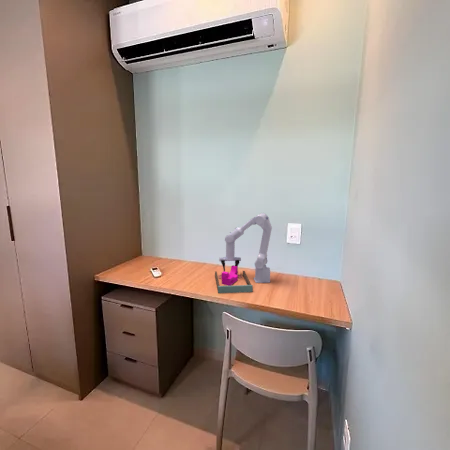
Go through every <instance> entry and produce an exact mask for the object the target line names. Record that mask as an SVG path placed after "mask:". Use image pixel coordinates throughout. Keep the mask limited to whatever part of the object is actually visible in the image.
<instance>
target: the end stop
mask: <svg viewBox="0 0 450 450" xmlns="http://www.w3.org/2000/svg"><path fill="white" fill-rule="evenodd" d="M253 286H254V285H252V284H251V285H247V284H244V285H243V284H237V285H234V284H232V285H231V286H228V285H220V286H218V290H217V293H218V294H233V293H234V294H236V293H253V291H254V290H253V288H254V287H253Z"/></svg>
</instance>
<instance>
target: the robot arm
mask: <svg viewBox="0 0 450 450" xmlns="http://www.w3.org/2000/svg"><path fill="white" fill-rule="evenodd" d="M254 225H255V226H256V225H258V226H259V227H260V228H261V229H262V230H263V231H262V235H261V240H260V244H259V245H260V247H259V252H258V255H257V257H256V260H255V262H254V267H255V268H254V270H255V271H254V272H255V274H254V277H253V280H254V282H255V283H256V284H262V283H263V284H264V283H265V284H266V283H271V268H270V267H269V266H267V264H268V248H269V243H270V240H271V239H270V238H271V234H272V229H273V227H272V224H271V222H270V218H269V216H268V215H267V214H266V213H264V212H261V213H259V214H257V215H256V216H254V217H252V218H250V219H249V220H248V221H246V222H245V223H244V224H243V225H242V226H238V227H235V228H234V230H232V231H230V232H229V234H228V235H226V236H225V237H224V241H225V256H224V257H219V259H218V261H219V262H220V263H221V265H222V269H223V271H224V272H226V262H234V266H239V265H240V262H241V261H242V257H237V256H236V257H235V242H236V241H237V240H238V239H239V238H240V237H241V236H243V235H244V233H245V231H246V230H248V228H250V227H251V226H254Z"/></svg>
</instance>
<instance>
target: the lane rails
mask: <svg viewBox="0 0 450 450" xmlns="http://www.w3.org/2000/svg"><path fill="white" fill-rule="evenodd" d="M218 275H219V274H218V272H217V271H214V278H215V283H216V290H217V291H218V286H221V285H220V279H219V277H218ZM242 277H243V279H244V281H245V284H246V285H252V283H251V281H250V279H249V276H248V275H247V273H246V271H245V270H242Z"/></svg>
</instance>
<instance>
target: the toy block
mask: <svg viewBox="0 0 450 450" xmlns="http://www.w3.org/2000/svg"><path fill="white" fill-rule="evenodd" d="M238 266H239V265H238ZM238 266H235V264H234V265H231V266H230V271H225V272H224V270H223V271H222V272H221V275H222V279H221V285H223V286H233V285H234V283H236V282H237V281H238V280H239V278H238V275H239V273H238V272H239V267H238Z"/></svg>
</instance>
